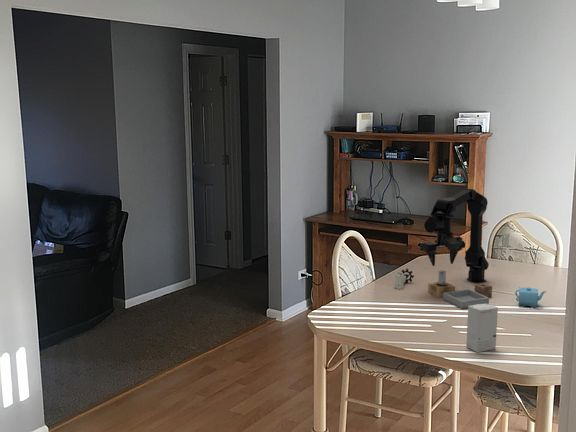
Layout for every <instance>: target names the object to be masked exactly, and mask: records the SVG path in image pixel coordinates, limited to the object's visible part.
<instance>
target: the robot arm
mask: <svg viewBox="0 0 576 432" xmlns="http://www.w3.org/2000/svg"><path fill="white" fill-rule="evenodd" d="M464 203H466V205H467V206H466V208H467V211H468V212H469V214H470V229H469V230H470V232H469V233H470V235H469V236H470V239H469V240H470V241H469V247H468V248H467V250H465V252H464V254H465V255H464V261H465V265H466V267H468V268H469V269H468V274H467V275H468V276H467V277H466V280H468V281H470V282H472V283H475V284H479V283H486V282H487V279H485V272H486V270H488V268H489V265H490V264H489V262H488V260H487V259H486V254H485V250H484V249H483V247H482V238H483V235H482V234H483V215H484V214H485V212H486V210H487V207H488V199H487V198H486V197H485V196H484V195H483V194H480V193H479V192H477V191H476V190H475V189H474V188H463V189H462V190H461V191H459V192H457V193H455V194H454V195H452V196H450V197H442V198H439V199H437V200H436V202H435V204H434V205H433V208H432V210H431V213H430V215H428V219H426V220H425V222H424V226H423V227H424V229H425V232H428V233H429V234H432V233H435V234H436V239H434V242H431V241H425V242H422V243H421V246H420V250H423V251H424V252H425V253H426V254H427V256H428V258H429V261H430V263H431V266H432V267H435V266H436V255H437V252H438V251H436V250H437V249H440V248H446V249H447V250H448V251H449V262H450V264H451V265H453V264H454V262H455V259H456V256H458V255H457V254H458V253H459V252H460V251H462V250H463V249H465V248H466V242H465V241H464V240H463V238H462V236H458V237H455V236H454V233H453V231H451V230H452V219H454V218H455V215H454V214H453V213H454V212H455V211H456V210H457V207H459V206H461V205H462V204H464Z"/></svg>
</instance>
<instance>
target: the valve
mask: <svg viewBox="0 0 576 432" xmlns="http://www.w3.org/2000/svg"><path fill="white" fill-rule="evenodd" d="M412 274H413V270H410V271H409V268H405V270H404V269H402V270H401V272H396V273H395V274H394V275H395V276H394V289H396V290H403V289H404V283H406V284H407V283H408V282H410V283H412V282H413V278H414V277H415V275H412Z"/></svg>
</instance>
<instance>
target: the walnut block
mask: <svg viewBox="0 0 576 432" xmlns="http://www.w3.org/2000/svg"><path fill="white" fill-rule="evenodd" d="M474 291H475V292H477V293H479V294H481V295H483V296H486V297H488V298H489V299H490V298H492V297H493V295H492V294H493V286H492V285H490V284H487V283H486V282H481V283H475V284H474Z"/></svg>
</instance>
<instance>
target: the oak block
mask: <svg viewBox="0 0 576 432" xmlns="http://www.w3.org/2000/svg"><path fill="white" fill-rule="evenodd" d="M427 285H428V287H427V288H428V290H427V292H428V294H431V295H433V296H434V297H436V298H443V293H445V292H452V291H456V286H455V285H453V284H451V283H450V282H447V281H446V282H445V286H442V287H440V286H438V281H436V282H431V283H430V282H429V283H428V284H427Z"/></svg>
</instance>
